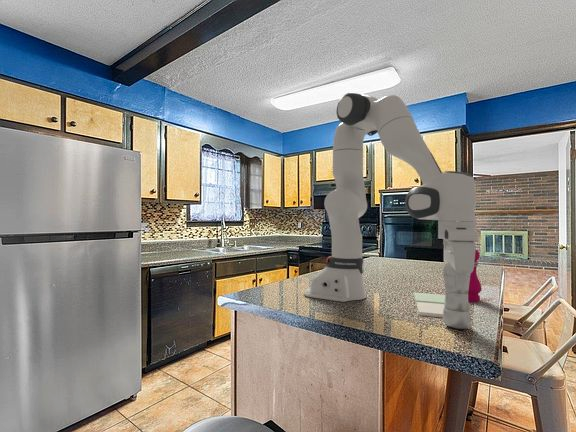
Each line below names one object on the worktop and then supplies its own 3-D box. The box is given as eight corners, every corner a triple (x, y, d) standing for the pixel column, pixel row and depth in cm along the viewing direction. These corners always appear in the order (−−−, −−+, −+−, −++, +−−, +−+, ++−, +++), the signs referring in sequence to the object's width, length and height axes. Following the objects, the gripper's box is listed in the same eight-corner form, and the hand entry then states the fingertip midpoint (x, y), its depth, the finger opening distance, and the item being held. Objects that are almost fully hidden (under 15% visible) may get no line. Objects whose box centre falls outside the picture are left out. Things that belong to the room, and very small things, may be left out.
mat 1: (415, 303, 106) (415, 300, 106) (413, 295, 117) (413, 292, 117) (459, 307, 102) (458, 303, 102) (452, 298, 113) (452, 295, 113)
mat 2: (419, 315, 92) (419, 311, 92) (416, 304, 104) (416, 301, 104) (468, 320, 88) (468, 316, 88) (460, 308, 100) (460, 305, 100)
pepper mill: (485, 303, 107) (485, 244, 107) (462, 301, 108) (462, 243, 109) (476, 297, 114) (477, 242, 114) (455, 296, 116) (455, 242, 116)
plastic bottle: (459, 333, 78) (459, 252, 78) (436, 324, 84) (437, 250, 84) (477, 330, 80) (477, 252, 81) (453, 322, 87) (453, 249, 87)
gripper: (438, 230, 93) (437, 277, 93) (449, 233, 74) (449, 292, 74) (462, 231, 91) (461, 278, 91) (480, 234, 72) (480, 294, 72)
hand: (456, 285), depth 82 cm, fingers open, 8 cm apart
